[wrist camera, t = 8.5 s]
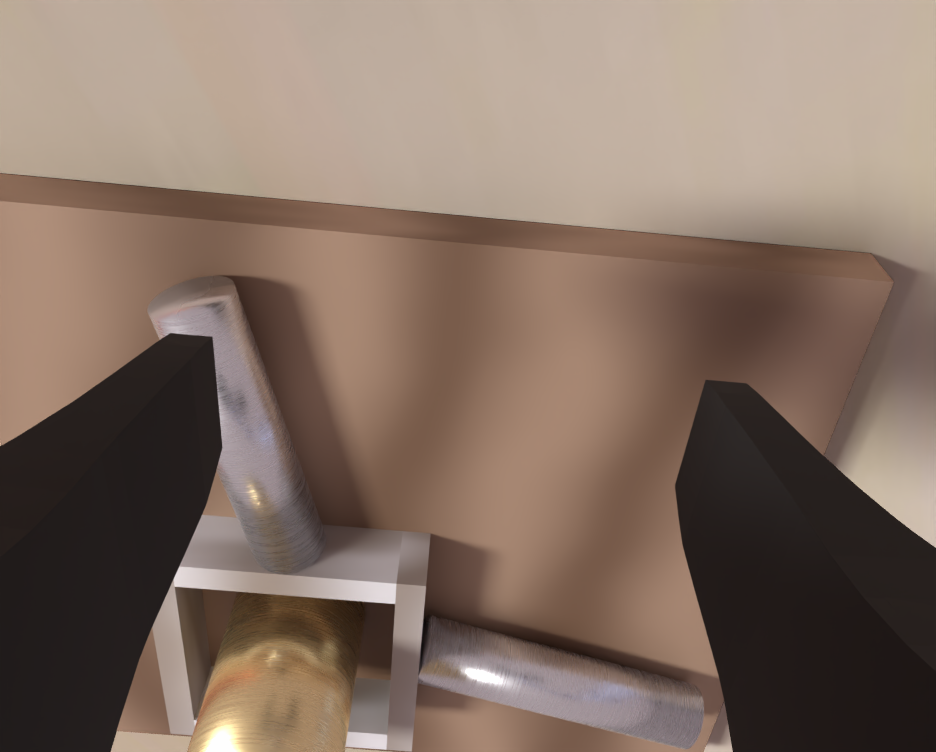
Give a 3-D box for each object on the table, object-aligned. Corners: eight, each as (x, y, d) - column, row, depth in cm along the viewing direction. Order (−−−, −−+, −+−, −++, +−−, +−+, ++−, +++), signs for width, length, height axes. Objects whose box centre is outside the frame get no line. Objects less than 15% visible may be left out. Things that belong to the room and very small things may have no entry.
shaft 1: (163, 283, 21) (134, 326, 19) (244, 270, 21) (221, 313, 19) (264, 526, 25) (248, 578, 24) (331, 518, 25) (320, 571, 23)
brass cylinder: (371, 571, 26) (342, 756, 21) (359, 657, 28) (332, 842, 23) (236, 554, 26) (175, 738, 21) (235, 642, 28) (180, 826, 23)
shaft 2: (696, 671, 28) (709, 726, 27) (668, 707, 29) (678, 762, 28) (433, 601, 27) (429, 655, 25) (413, 641, 28) (407, 695, 26)
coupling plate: (871, 253, 22) (929, 326, 19) (686, 736, 33) (705, 828, 30) (-33, 170, 21) (-118, 232, 18) (93, 691, 32) (53, 781, 29)
